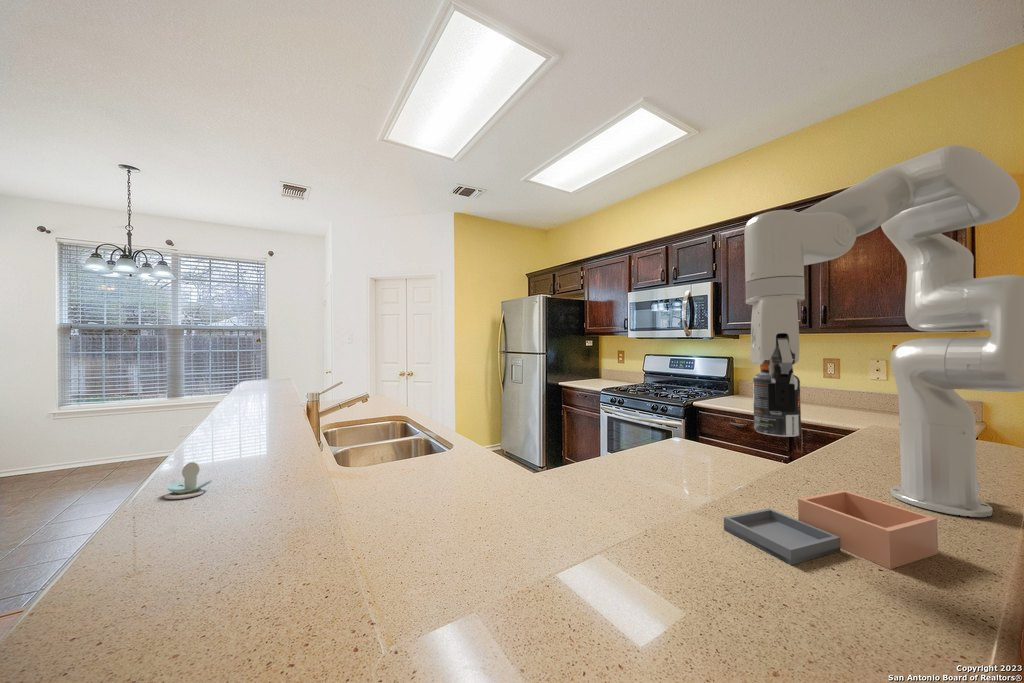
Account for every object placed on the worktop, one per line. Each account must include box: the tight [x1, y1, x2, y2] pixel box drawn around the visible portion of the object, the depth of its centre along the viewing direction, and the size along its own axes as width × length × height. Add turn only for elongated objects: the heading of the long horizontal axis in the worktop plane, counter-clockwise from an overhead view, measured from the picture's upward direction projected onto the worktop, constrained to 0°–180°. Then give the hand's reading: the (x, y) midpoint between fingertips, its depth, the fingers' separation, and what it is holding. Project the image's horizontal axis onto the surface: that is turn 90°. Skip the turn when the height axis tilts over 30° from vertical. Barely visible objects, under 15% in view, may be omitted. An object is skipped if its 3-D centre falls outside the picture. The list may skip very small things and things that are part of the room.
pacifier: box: [163, 461, 213, 500], centre depth 74 cm, size 7×6×6 cm
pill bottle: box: [752, 361, 802, 438], centre depth 57 cm, size 6×6×11 cm
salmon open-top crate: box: [797, 489, 939, 570], centre depth 56 cm, size 11×11×5 cm
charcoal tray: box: [723, 507, 842, 566], centre depth 56 cm, size 10×10×2 cm
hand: (776, 406), depth 57 cm, fingers closed on pill bottle, 6 cm apart
